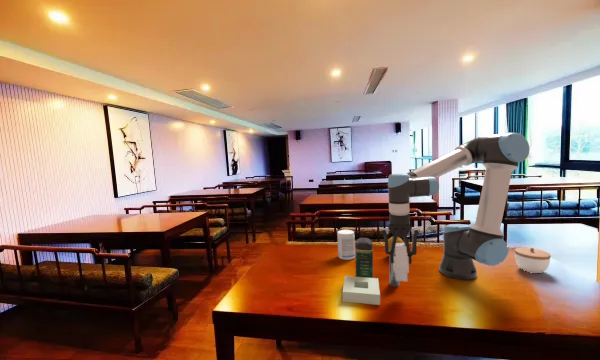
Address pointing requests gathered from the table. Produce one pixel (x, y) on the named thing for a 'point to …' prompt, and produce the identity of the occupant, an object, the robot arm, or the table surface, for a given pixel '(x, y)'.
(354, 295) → the socket block
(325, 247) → the table surface
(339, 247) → the supplement tub
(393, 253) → the robot arm
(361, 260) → the coffee jar
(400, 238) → the apple
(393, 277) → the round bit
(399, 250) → the square bit
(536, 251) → the dishware bowl
